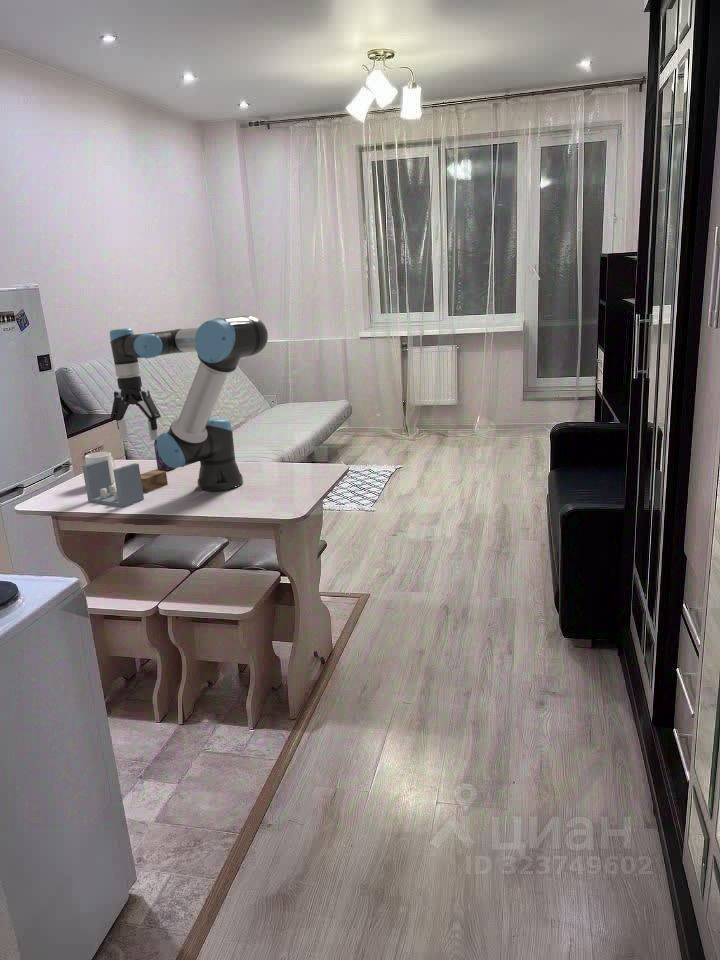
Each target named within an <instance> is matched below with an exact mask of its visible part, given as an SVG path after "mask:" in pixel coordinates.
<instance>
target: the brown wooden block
mask: <svg viewBox="0 0 720 960" xmlns="http://www.w3.org/2000/svg"><path fill="white" fill-rule="evenodd" d="M140 476H141V482H142V489H143V493H144V494H147V493H149V492H153V491H154V490H158V489H160V488H163V487H165V486H167V485H168V483H169V482H168V477H167V470H160V469H153V470H152V469H151V470H149V471H147V472H144V473H140Z"/></svg>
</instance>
